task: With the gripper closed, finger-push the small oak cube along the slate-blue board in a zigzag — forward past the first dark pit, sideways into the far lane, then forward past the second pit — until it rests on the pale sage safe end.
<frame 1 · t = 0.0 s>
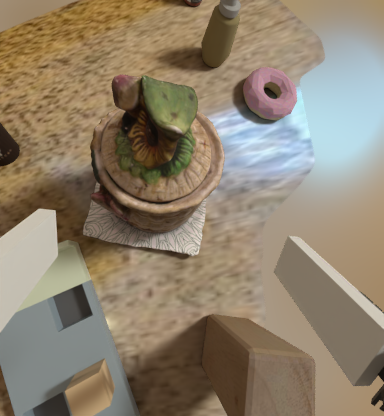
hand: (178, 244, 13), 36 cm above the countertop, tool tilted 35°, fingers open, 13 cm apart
supplement bottle: (191, 0, 65), on the countertop
cookie jar: (153, 194, 50), on the countertop
wooden block: (225, 340, 46), on the countertop
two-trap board: (63, 345, 40), on the countertop
oak cube: (95, 380, 37), point 3 cm above the countertop, touching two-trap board
squeeze bottle: (211, 59, 62), on the countertop
donut: (264, 100, 63), on the countertop
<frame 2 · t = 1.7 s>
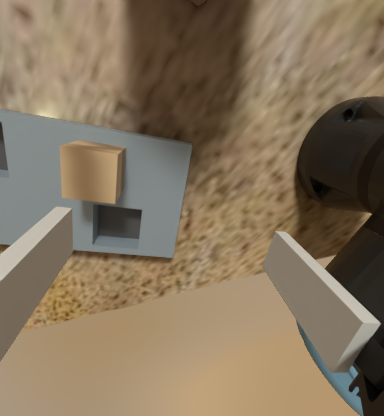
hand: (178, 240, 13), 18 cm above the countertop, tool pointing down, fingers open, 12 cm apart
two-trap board: (51, 182, 28), on the countertop
oak cube: (102, 165, 25), point 3 cm above the countertop, touching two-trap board
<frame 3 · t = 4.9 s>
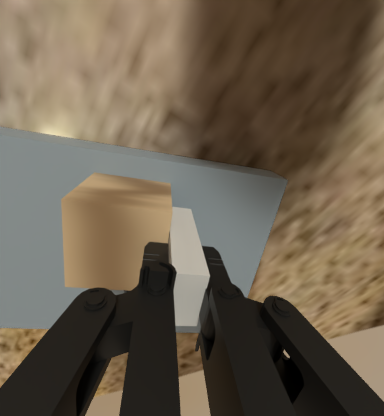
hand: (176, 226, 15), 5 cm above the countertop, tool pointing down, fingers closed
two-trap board: (60, 231, 19), on the countertop
oak cube: (130, 211, 16), point 3 cm above the countertop, touching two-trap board
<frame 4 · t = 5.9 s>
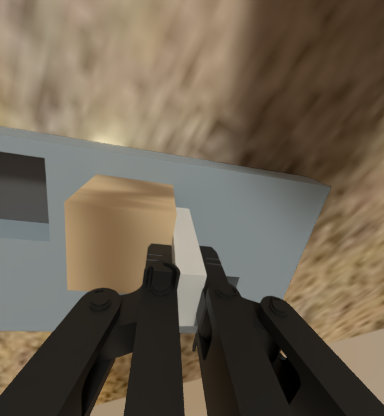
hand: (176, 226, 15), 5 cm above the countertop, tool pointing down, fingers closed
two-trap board: (104, 236, 19), on the countertop
oak cube: (132, 213, 16), point 3 cm above the countertop, touching gripper, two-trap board
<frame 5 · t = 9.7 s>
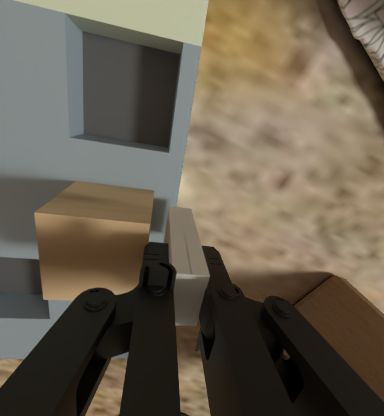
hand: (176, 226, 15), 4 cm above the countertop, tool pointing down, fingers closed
wooden block: (320, 313, 27), on the countertop
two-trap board: (72, 172, 17), on the countertop
oak cube: (115, 219, 15), point 3 cm above the countertop, touching gripper
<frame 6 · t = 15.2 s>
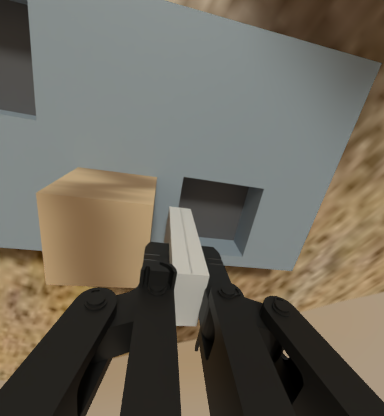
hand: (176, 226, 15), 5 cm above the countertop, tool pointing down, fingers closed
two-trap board: (103, 141, 16), on the countertop
oak cube: (117, 207, 15), point 3 cm above the countertop, touching gripper, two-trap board
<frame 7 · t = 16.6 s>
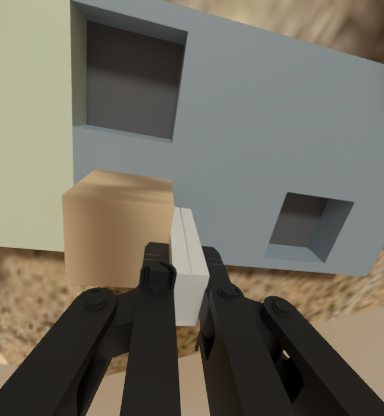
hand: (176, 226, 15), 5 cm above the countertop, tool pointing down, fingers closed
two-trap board: (205, 158, 18), on the countertop
oak cube: (131, 208, 16), point 3 cm above the countertop, touching gripper
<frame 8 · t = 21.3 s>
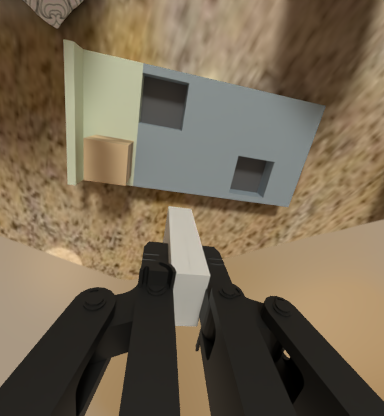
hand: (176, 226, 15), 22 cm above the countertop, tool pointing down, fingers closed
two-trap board: (198, 139, 34), on the countertop
oak cube: (114, 156, 31), point 3 cm above the countertop, touching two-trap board
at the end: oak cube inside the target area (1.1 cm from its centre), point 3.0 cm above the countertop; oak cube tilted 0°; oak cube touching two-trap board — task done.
